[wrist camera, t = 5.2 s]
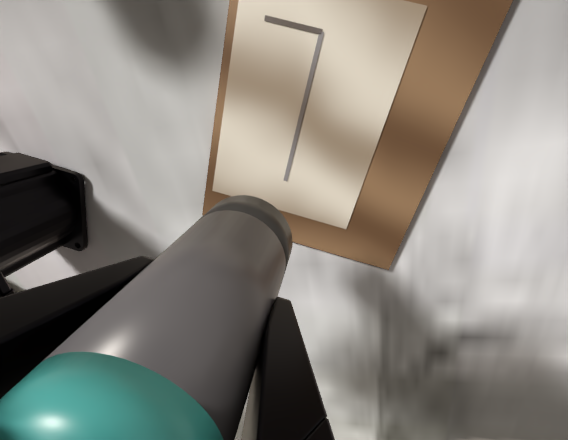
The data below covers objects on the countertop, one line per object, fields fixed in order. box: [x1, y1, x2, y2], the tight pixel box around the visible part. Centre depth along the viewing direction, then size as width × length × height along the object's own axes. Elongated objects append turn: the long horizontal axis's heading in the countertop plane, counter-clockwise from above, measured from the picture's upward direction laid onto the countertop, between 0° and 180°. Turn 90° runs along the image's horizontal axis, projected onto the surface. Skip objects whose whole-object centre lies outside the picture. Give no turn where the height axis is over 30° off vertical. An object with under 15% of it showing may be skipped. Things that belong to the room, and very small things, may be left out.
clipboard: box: [202, 0, 513, 270], centre depth 16 cm, size 18×13×1 cm
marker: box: [0, 195, 292, 440], centre depth 7 cm, size 3×3×8 cm
